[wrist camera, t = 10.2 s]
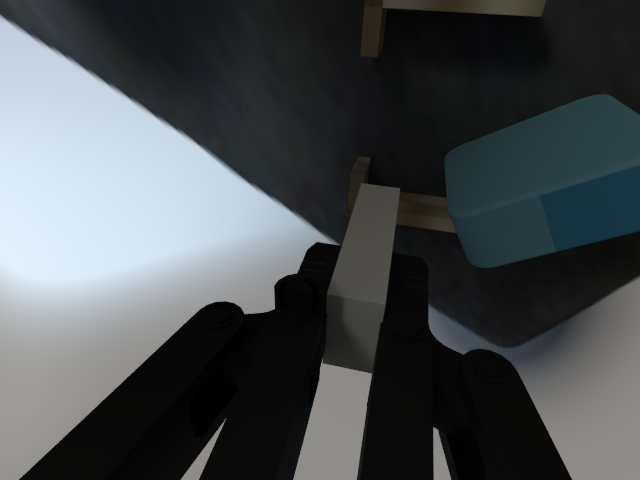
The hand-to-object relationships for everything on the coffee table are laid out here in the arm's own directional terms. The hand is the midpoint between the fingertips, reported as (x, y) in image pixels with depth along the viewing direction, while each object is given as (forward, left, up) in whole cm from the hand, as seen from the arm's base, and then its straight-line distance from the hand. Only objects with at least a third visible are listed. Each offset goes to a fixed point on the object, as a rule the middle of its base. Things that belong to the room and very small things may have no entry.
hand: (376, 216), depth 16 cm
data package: (+10, -3, -21) cm, 23 cm away
